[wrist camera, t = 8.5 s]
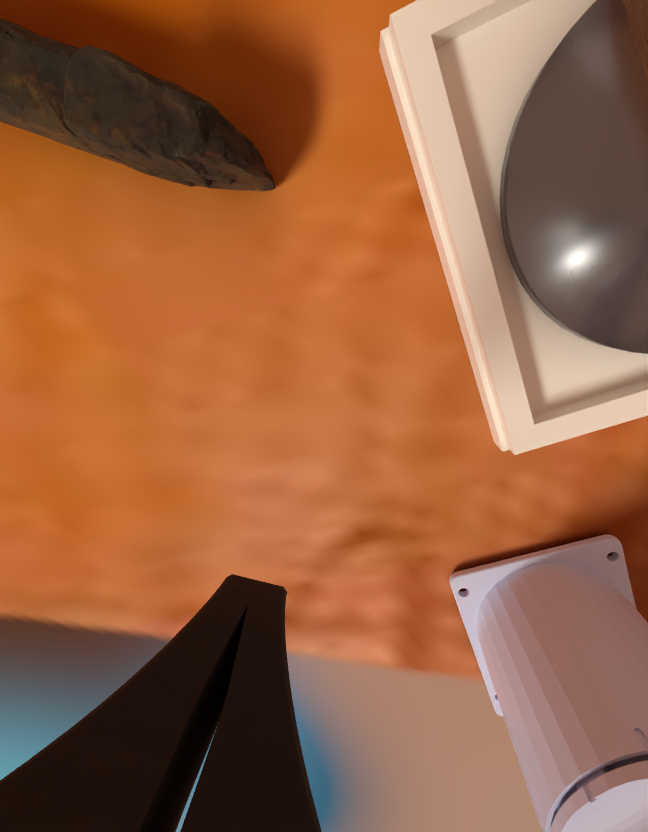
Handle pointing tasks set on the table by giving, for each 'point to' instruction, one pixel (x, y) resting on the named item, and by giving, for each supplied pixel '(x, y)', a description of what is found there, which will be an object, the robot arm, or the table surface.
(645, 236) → the dial
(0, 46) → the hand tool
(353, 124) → the table surface
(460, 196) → the dial plate
